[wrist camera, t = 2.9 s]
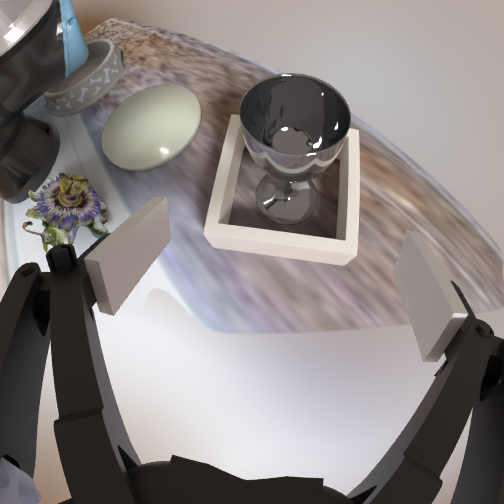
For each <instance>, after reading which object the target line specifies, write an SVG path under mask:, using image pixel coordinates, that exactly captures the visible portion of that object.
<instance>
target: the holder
mask: <svg viewBox="0 0 504 504" xmlns="http://www.w3.org/2000/svg"><path fill="white" fill-rule="evenodd" d="M244 147H247V146H246V144H245V140H244V137H243V133H242V128H241V123H240V115H235V114H231V118H230V122H229V126H228V130H227V133H226V137H225V141H224V145H223V149H222V153H221V157H220V161H219V165H218V170H217V174H216V178H215V182H214V187H213V191H212V195H211V200H210V204H209V209H208V213H207V218H206V223H205V227H204V232H203V234H204V236H205V237H206V238H207V240H208V241H209V243H210V244H211V245H212V247H213V248H221V249H228V250H235V251H242V252H249V253H256V254H263V255H271V256H278V257H285V258H292V259H299V260H307V261H314V262H321V263H328V264H335V265H342V266H344V265H346V264H347V263H348V262H349V261H350V260H352V259H353V258H354V257H355V256H356V255H357V246H358V228H359V197H360V156H359V130H354V129H349V131H348V134H347V137H346V139H345V141H344V144H343V146H342V148H341V150H340V152H339V154H338V155H337V157H336V158H335V159H339V160H340V175H339V199H338V216H337V231H336V239H330V238H323V237H316V236H309V235H302V234H295V233H288V232H281V231H273V230H266V229H258V228H251V227H243V226H235V225H228V224H229V219H230V213H231V208H232V203H233V198H234V193H235V188H236V183H237V178H238V173H239V168H240V164H241V159H242V154H243V149H244Z"/></svg>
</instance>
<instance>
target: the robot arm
mask: <svg viewBox="0 0 504 504" xmlns="http://www.w3.org/2000/svg"><path fill="white" fill-rule="evenodd" d="M88 54H89V52H88V48H87V45H86V42H85V39H84V36H83V34H82V31H81V28H80V25H79V23H78V20H77V17H76V14H75V11H74V8H73V5H72V2H71V0H0V197H1V198H3V199H4V200H6V201H8V202H10V203H13V204H15V203H20V202H22V201H24V200H26V199H27V198H28V197H30V196H29V191H30V190H31V191H33V192H35V191H36V190H37V189H38V188H39V187H40V185H41V184H42V183H43V181H44V180H45V178H46V177H47V175H48V174H49V172H50V170H51V168H52V166H53V164H54V162H55V159H56V157H57V153H58V149H59V135H58V133H57V131H56V130H55V129H54V128H53V127H52V126H51V125H50V124H48V123H47V122H44V121H41V120H39V119H36V118H34V117H31V116H28V115H26V114H24V113H23V112H22V111H23V110H24V109H26V108H27V107H28V106H29V105H30V104H32V103H33V102H34V101H35V100H36V99H38V98H39V97H40V96H41V95H43V94H44V93H45V92H47V91H48V90H49V89H51V88H52V87H53V86H55V85H56V84H57V83H59V82H60V81H61V80H63V79H64V78H65V79H66V78H67V77H68V76H69V74H71V73H72V72H73V71H75V70H76V69H77V68H79V67H80V66H82V65H83V64H84V63H85V62H86V60H87V58H88ZM169 241H170V231H169V217H168V199H167V197H165V196H154V197H153V198H152V199H150V200H149V201H148V202H147V203H146V204H144V205H143V206H142V207H141V208H140V209H138V210H137V211H136V212H135V213H134V214H132V215H131V216H130V217H129V218H128V219H127V220H126V221H124V222H123V223H122V224H121V225H120V226H119V227H118V228H116V229H115V230H114V231H113V232H112V233H108V234H106V235H104V236H102V237H100V238H99V239H98V240H97V241H96V242H95V243H94V244H93V245H91V246H90V247H89V249H87V250H86V251H85V252H84V253H83V254H82V255H81V256H80V257H79V258H78V259H77V257H76V253H75V249H74V247H73V245H71V244H60V245H57V246H55V247H53V248H51V249H50V250H49V251H48V252H47V254H46V259H47V262H48V265H49V268H50V271H51V272H41V270H40V267H39V265H38V264H37V263H35V262H31V263H26V264H24V265H22V266H21V267H20V268H18V270H17V271H16V272H15V274H14V276H13V278H12V280H11V282H10V284H9V286H8V288H7V290H6V292H5V294H4V296H3V298H2V300H1V303H0V504H37V503H38V502H40V499H41V495H40V492H39V491H38V490H37V489H36V486H35V484H34V481H33V480H32V479H33V474H34V468H35V459H36V440H37V424H38V414H39V405H40V395H41V389H42V381H43V376H44V370H45V364H46V359H47V354H48V349H49V344H50V340H51V355H52V366H53V376H54V385H55V392H56V400H57V406H58V412H59V419H58V420H55V421H54V432H55V437H56V443H57V447H58V451H59V455H60V460H61V463H62V467H63V471H64V475H65V478H66V481H67V484H68V487H69V491H70V494H71V497H72V498H70V499H68V500H66V501H63V502H61V503H58V504H432V502H433V500H434V499H435V497H436V496H437V494H438V492H439V491H440V489H441V487H442V482H443V481H442V480H441V479H440V475H441V472H442V471H443V469H444V467H445V465H446V464H447V462H448V460H449V458H450V456H451V454H452V452H453V450H454V448H455V446H456V444H457V442H458V440H459V438H460V436H461V434H462V431H463V429H464V427H465V425H466V422H467V420H468V417H469V415H470V413H471V410H472V408H473V412H472V418H471V425H470V430H469V436H468V441H467V446H466V450H465V455H464V459H463V463H462V467H461V471H460V475H459V479H458V482H457V485H456V489H455V492H454V495H453V498H452V501H451V503H450V504H504V339H502V338H499V337H496V336H494V332H493V330H492V328H491V327H490V326H489V325H488V324H487V323H486V322H484V321H482V320H479V319H476V317H475V315H474V313H473V311H472V310H471V308H470V306H469V304H468V302H466V299H465V297H464V296H463V293H462V292H461V290H460V288H459V287H458V286H457V285H456V284H455V283H454V282H453V281H450V280H449V278H448V277H447V275H446V273H445V272H444V270H443V268H442V267H441V265H440V264H439V262H438V260H437V259H436V257H435V256H434V254H433V253H432V251H431V249H430V248H429V246H428V245H427V243H426V242H425V240H424V239H423V237H422V236H421V235H420V233H419V232H415V231H409V230H407V232H406V236H405V239H404V242H403V245H402V248H401V251H400V253H399V256H398V259H397V262H396V265H395V267H394V270H393V274H394V277H395V279H396V282H397V284H398V287H399V290H400V292H401V295H402V298H403V300H404V303H405V306H406V309H407V312H408V315H409V318H410V321H411V324H412V327H413V330H414V333H415V336H416V339H417V342H418V345H419V348H420V352H421V356H422V359H423V362H437V361H438V360H439V359H440V357H441V356H442V354H443V353H445V356H446V361H445V362H444V363H443V365H442V366H441V367H440V369H439V370H438V371H437V373H436V374H435V375H434V376H436V378H435V380H434V381H433V383H432V385H431V387H430V389H429V390H428V392H427V394H426V395H425V397H424V399H423V400H422V402H421V404H420V405H419V407H418V408H417V410H416V412H415V413H414V415H413V416H412V418H411V419H410V421H409V422H408V424H407V425H406V427H405V428H404V430H403V431H402V432H401V434H400V435H399V437H398V438H397V439H396V441H395V442H394V444H393V445H392V446H391V448H390V449H389V450H388V452H387V453H386V454H385V455H384V457H383V458H382V459H381V460H380V462H379V463H378V464H377V465H376V467H375V468H374V469H373V470H372V471H371V472H370V474H369V475H368V476H367V477H366V478H365V479H364V480H363V481H362V482H361V484H359V485H358V486H357V487H356V488H354V489H353V490H352V491H351V492H350V493H349V494H348V495H347V496H345V495H344V494H342V493H340V492H338V491H336V490H335V489H332V488H329V487H327V486H323V478H302V477H288V476H285V477H277V478H268V479H258V480H244V479H241V478H239V477H236V476H234V475H231V474H229V473H227V472H225V471H222V470H220V469H218V468H216V467H214V466H211V465H209V464H206V463H202V462H198V461H194V460H190V459H186V458H182V457H178V456H175V455H172V457H171V460H170V461H159V462H158V461H157V462H151V463H146V464H141V462H140V460H139V458H138V456H137V454H136V452H135V450H134V448H133V447H132V445H131V442H130V440H129V437H128V434H127V432H126V429H125V426H124V424H123V421H122V418H121V415H120V412H119V409H118V406H117V403H116V400H115V397H114V394H113V390H112V387H111V383H110V380H109V376H108V373H107V369H106V365H105V361H104V357H103V353H102V349H101V345H100V340H99V336H98V331H97V326H96V321H95V317H94V312H93V309H92V306H93V305H94V304H95V303H96V302H97V304H98V308H99V311H100V312H103V313H106V314H109V315H113V316H114V315H115V313H116V312H117V311H118V309H119V308H120V306H121V305H122V304H123V302H124V301H125V299H126V298H127V297H128V295H129V294H130V293H131V291H132V290H133V288H134V287H135V286H136V284H137V283H138V282H139V280H140V279H141V278H142V276H143V275H144V274H145V272H146V271H147V270H148V268H149V267H150V266H151V264H152V263H153V262H154V261H155V259H156V258H157V257H158V255H159V254H160V253H161V252H162V250H163V249H164V248H165V246H166V245H167V244H168V243H169Z"/></svg>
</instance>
